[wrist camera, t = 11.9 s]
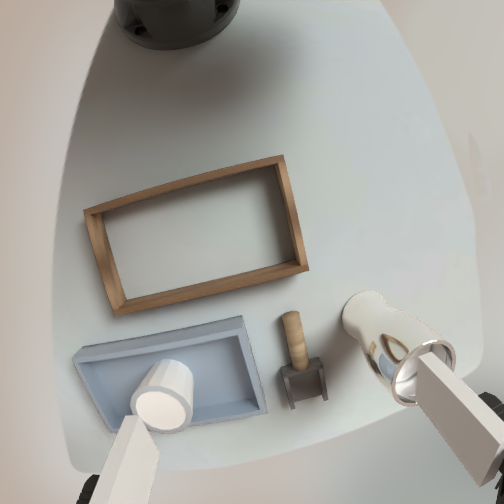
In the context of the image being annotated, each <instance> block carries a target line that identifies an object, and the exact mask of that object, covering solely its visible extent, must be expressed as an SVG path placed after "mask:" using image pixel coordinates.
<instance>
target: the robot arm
mask: <svg viewBox="0 0 504 504" xmlns="http://www.w3.org/2000/svg"><path fill="white" fill-rule="evenodd" d="M239 3H240V0H114V8H115V16H116V19H117V22H118V24H119V26H120V27H121V29H122V30H123V31H124V33H125V34H126V35H127V37H129V38H130V39H131V40H132V41H133V42H135V43H137V44H139V45H141V46H144V47H147V48H151V49H158V50H173V49H180V48H185V47H189V46H193V45H196V44H198V43H201V42H203V41H205V40H207V39H209V38H211V37H213V36H214V35H216V34H217V33H219V32H220V31H221V30H223V29H224V28H225V27H226V26H227V25H228V24H229V23H230V21H231V20H232V19H233V17H234V16H235V14H236V12H237V10H238V7H239ZM415 401H416V402H417V404H418V405H419V406H420V407H421V409H422V410H423V411H424V413H425V414H426V415H427V417H428V418H429V419H430V421H431V422H432V423H433V425H434V426H435V427H436V429H437V430H438V431H439V433H440V434H441V435H442V437H443V438H444V439H445V441H446V442H447V443H448V445H449V446H450V447H451V449H452V450H453V451H454V453H455V454H456V456H457V457H458V458H459V460H460V461H461V462H462V464H463V465H464V467H465V468H466V469H467V471H468V472H469V474H470V475H471V476H472V478H473V479H474V481H475V482H476V483H477V485H478V486H479V487H481V486H483V485H484V484H486V483H488V482H489V481H490V480H492V479H494V477H495V476H496V474H497V472H498V470H499V471H500V472H501V473H502V476H501V478H500V479H499V481H498V483H497V485H496V487H495V489H497V488H498V487H499V490H498V495H497V500H496V504H504V404H502V402H501V401H500V400H499V399H498V398H497V397H496V396H494V395H492V394H489V393H487V392H484V393H482V394H480V395H478V396H477V395H476V394H475V393H474V392H473V391H472V390H471V389H470V388H469V387H468V386H467V385H466V384H465V383H464V382H463V381H462V380H461V379H460V378H459V377H458V376H457V375H456V374H455V373H454V372H453V371H452V370H450V369H449V368H448V367H447V366H446V365H445V364H444V363H443V362H442V361H441V360H440V359H439V358H438V357H437V356H436V355H435V354H433V353H432V352H429V353H426V354H424V355H421V356H418V367H417V381H416V393H415ZM159 456H160V452H159V450H158V449H157V447H156V445H155V443H154V441H153V440H152V438H151V436H150V434H149V432H148V430H147V428H146V427H145V425H144V423H143V421H142V419H141V417H140V415H128V416H125V418H124V420H123V422H122V425H121V427H120V429H119V432H118V434H117V436H116V439H115V441H114V443H113V446H112V448H111V450H110V453H109V455H108V458H107V460H106V462H105V465H104V467H103V470H102V472H101V475H94V474H93V475H92V476H91V477H90V478H89V479H88V480H87V481H86V482H85V484H84V486H83V489H82V493H80V496H79V500H78V501H77V503H76V504H148V501H149V497H150V493H151V489H152V484H153V480H154V476H155V472H156V468H157V464H158V460H159Z"/></svg>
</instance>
